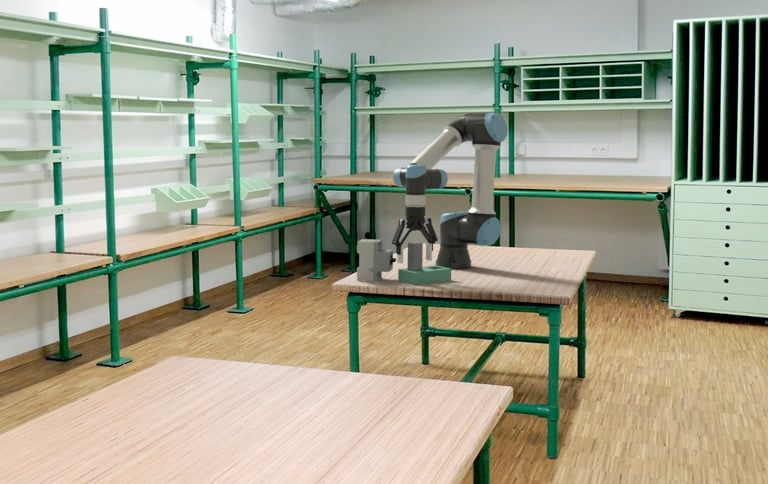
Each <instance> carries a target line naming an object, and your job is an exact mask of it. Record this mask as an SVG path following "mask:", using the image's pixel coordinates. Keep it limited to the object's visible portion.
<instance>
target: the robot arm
mask: <svg viewBox="0 0 768 484" xmlns="http://www.w3.org/2000/svg"><path fill="white" fill-rule="evenodd" d="M508 131H509V130H508V123H507V121H506V120H505V117H504V116H503V115H502V114H501V113H497V112H468V113H465V114H461V115H460V116H458V117H456V118H454V119H453V120H452V121H450V122H449V123H448V124H447V125H446V126H445V127H443V129H442V131H441V134H440V135H439V136H438V137H437V138H436V139H435V140H433V141H432V142H431V143H430V144H428V146H427V147H426V148H425V149H424V150H423V151H422V152H420V153H419V154H418V155H417V156H416V157H415V158H414V159H413V160H411V162H410V163H409V164H408V165H406V166H405V167H398V168H396V169H395V170H394V172H393V173H392V180H393V182H394V184H395V185H396V186H397V187H400V188H405V205H406V206H405V208H404V209H405V211H404V213H405V215H404V216H405V219H401V218H400V219H398V225H397V228H396V231H395V233H394V235H393V238H392V239H391V244H392V245H394V246H395V254H396V255H397V258H396V263H397V264H401V265H402V264H404V246H403V244H404V242H405V241H406V239H407V238H408V236H409V235H410V233H412V232H414V231H420V233H421V235H422V236H423V237H424V239H425V240H426V243H425V261H430V262H432V260H433V258H432V257H433V251H434V245H435V244H436V242H438V239H440V240H439V244H440V245H439V251H438V253H437V257H436V260H435V265H436V266H441V267H446V268H450V269H451V270H452V269H453V270H457V269H458V270H461V269H462V270H463V269H469V268H472V259H471V256H470V252H469V249H468V248H469V247H468V246H469V245H470V244H471V245H475V246H476V245H478V246H492V245H494V244H495V243H496V241H497V240H498V239H499V237H500V234H501V229H502V228H501V227H502V224H501V223H500V220H499V219H498V218H496V217H497V215H496V214H497V213H496V211H494V209H493V205H494V194H495V193H494V190H495V176H496V175H495V174H496V162H497V161H496V160H497V151H498V150H499V149H500V148H501V144H502V142H504V141H505V140H506V138H507V136H508ZM466 142H471V147H473V148H474V150H475V151H474V165H473V166H474V167H473V179H472V180H473V182H472V193H471V194H472V195H471V207H470V209H468V210H467V211H459V212H458V211H457V212H449V213H448V212H447V213H443V214H442V215H441V216H440V223H439V224H440V225H439V229H440V231H439V233H440V235H439V237H440V238H438V237H437V234H436V231H435V228H434V226H433V223H432V218H431V217H425V216H426V207H425V206H426V205H427V204H426V202H427V201H426V195H427V194H426V193H427V192H426V190H439V189H444V188H445V187H446V186H447V183H448V180H449V177H448V173H447V172H446V171H445V170H444V169H441V168H440V169H439V168H435V166H436V165H437V164H438V163H439V162H441V160H443V158H444V157H445V156H447V155H448V154H449V153H450V152H451V150H453V149H454V148H456V147H459V146H461V144H463V143H466ZM433 168H435V169H433ZM468 244H469V245H468Z"/></svg>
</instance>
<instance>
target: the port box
mask: <svg viewBox="0 0 768 484" xmlns="http://www.w3.org/2000/svg"><path fill="white" fill-rule="evenodd" d="M397 274H398V275H397V279H398V281H399V282H402V283H405V282H406V284H409V285H415V286H416V285H424V284H432V283H439V282H440V283H441V282H448V281H452V269H450V268H446V267H441V266H436V264H435V265H427V266H425V265H424V266H422V271H415V272H412V271H408V267H406V268H398V271H397Z"/></svg>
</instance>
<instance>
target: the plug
mask: <svg viewBox="0 0 768 484" xmlns="http://www.w3.org/2000/svg"><path fill="white" fill-rule="evenodd" d="M423 245H424V244H423V242H421V241H420V242H419V241H411V242H409V241H408V242H407V268H408V271H412V272H415V271H422V267H423V254H424V253H423V248H424V247H423Z"/></svg>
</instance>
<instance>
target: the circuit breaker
mask: <svg viewBox="0 0 768 484" xmlns="http://www.w3.org/2000/svg"><path fill="white" fill-rule="evenodd" d="M356 253H358V254H359V256H358V257H359V259H358V265H359V266H358V267H357V268H356V281H361V280H365V281H367V282H378V281H380V280H381V279H382V276H383V272H384V273H385V272H386V273H389V272H391V271H392V270H393V269H394V263H395V262H397V258H394V250H393V249H383V239H367V238H364V239H360V240H358V241H357V246H356Z"/></svg>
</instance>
